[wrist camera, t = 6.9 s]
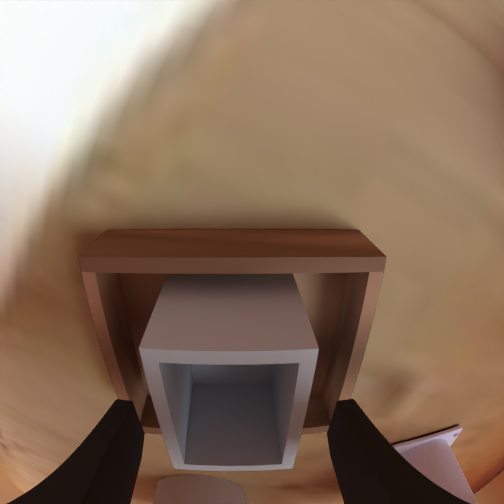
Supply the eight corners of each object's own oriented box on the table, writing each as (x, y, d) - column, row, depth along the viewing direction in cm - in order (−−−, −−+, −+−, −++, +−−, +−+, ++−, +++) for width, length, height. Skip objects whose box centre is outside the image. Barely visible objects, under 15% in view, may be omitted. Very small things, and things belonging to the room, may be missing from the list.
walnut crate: (327, 392, 18) (339, 430, 15) (141, 393, 17) (131, 431, 14) (359, 230, 14) (386, 256, 11) (106, 230, 13) (78, 257, 10)
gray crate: (279, 383, 16) (292, 468, 11) (186, 383, 16) (174, 468, 11) (289, 265, 14) (318, 348, 9) (171, 265, 13) (138, 348, 8)
